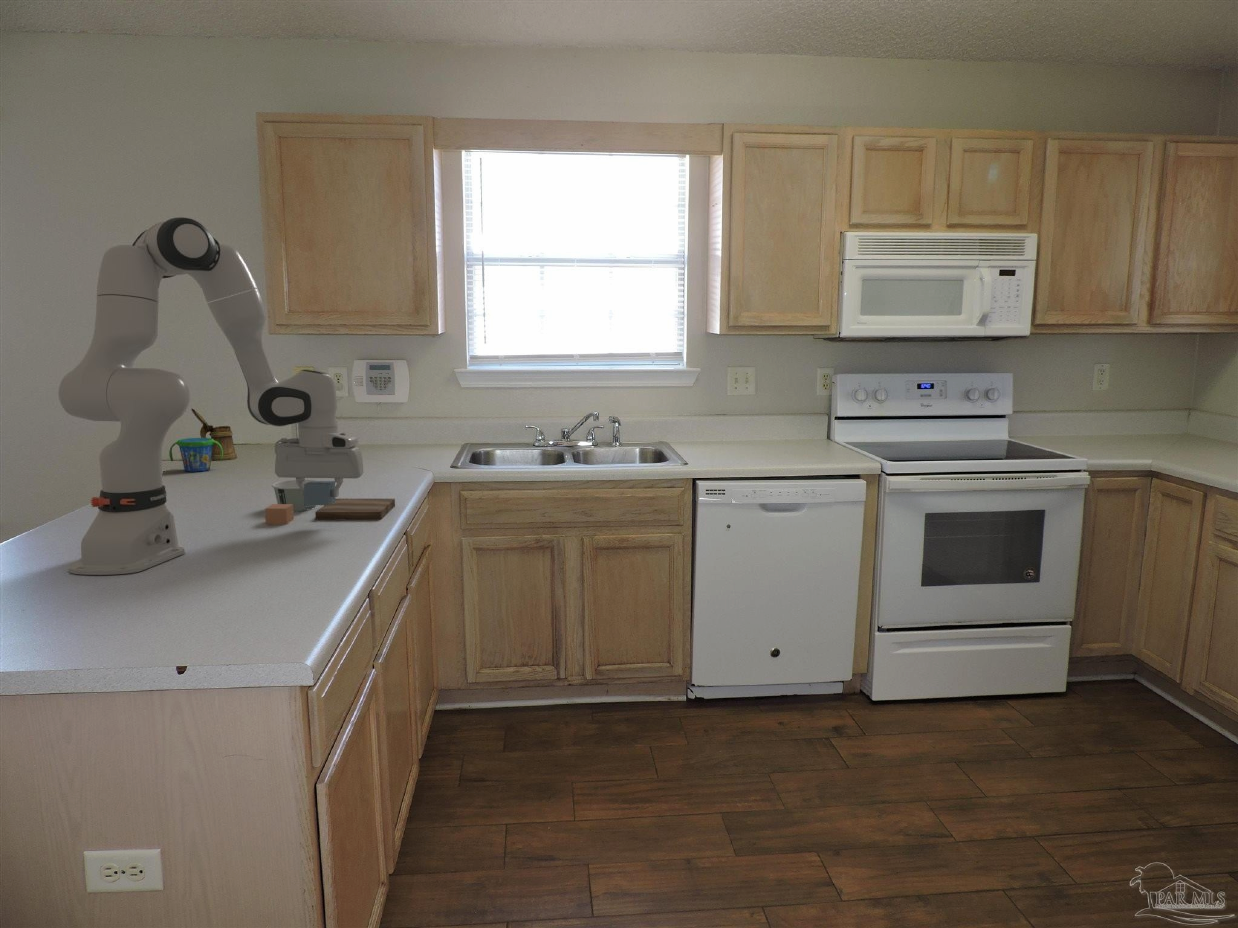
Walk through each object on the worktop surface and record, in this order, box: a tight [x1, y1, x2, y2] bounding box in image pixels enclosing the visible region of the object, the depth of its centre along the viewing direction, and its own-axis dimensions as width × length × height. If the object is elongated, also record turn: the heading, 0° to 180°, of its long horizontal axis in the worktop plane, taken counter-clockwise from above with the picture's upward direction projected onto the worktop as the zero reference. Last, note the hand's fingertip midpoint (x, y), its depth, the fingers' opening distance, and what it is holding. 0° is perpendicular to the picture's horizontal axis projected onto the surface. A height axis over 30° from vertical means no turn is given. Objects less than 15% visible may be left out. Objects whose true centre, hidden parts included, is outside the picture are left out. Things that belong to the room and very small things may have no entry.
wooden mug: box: [191, 408, 238, 461], centre depth 304 cm, size 9×14×18 cm, turn 111°
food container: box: [271, 479, 317, 512], centre depth 229 cm, size 12×12×6 cm
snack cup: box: [168, 437, 223, 473], centre depth 282 cm, size 16×10×10 cm
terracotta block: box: [264, 503, 295, 525], centre depth 213 cm, size 5×5×4 cm
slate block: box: [304, 480, 337, 506], centre depth 208 cm, size 6×6×5 cm
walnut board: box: [314, 498, 396, 521], centre depth 224 cm, size 16×16×2 cm
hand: (320, 496), depth 208 cm, fingers closed on slate block, 5 cm apart
